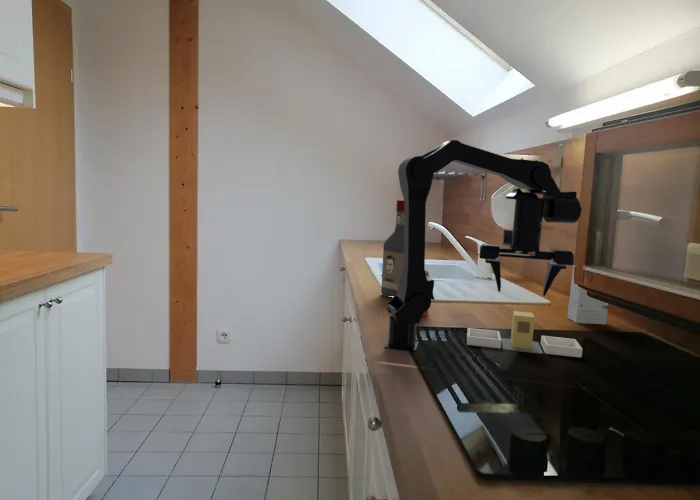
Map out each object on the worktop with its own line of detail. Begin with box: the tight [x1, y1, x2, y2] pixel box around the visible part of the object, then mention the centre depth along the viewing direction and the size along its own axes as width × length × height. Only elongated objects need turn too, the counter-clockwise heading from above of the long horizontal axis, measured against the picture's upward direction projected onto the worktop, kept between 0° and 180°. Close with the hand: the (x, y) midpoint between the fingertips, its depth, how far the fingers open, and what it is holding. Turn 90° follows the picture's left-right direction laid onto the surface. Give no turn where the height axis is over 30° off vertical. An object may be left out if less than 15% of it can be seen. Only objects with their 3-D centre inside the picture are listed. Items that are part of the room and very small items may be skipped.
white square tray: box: [540, 335, 583, 358], centre depth 103 cm, size 7×7×2 cm
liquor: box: [380, 199, 405, 298], centre depth 151 cm, size 9×9×30 cm
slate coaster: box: [501, 337, 544, 355], centre depth 105 cm, size 8×8×1 cm
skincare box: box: [567, 265, 609, 325], centre depth 130 cm, size 8×6×15 cm
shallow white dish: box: [466, 327, 502, 349], centre depth 107 cm, size 7×7×2 cm
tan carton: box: [510, 310, 535, 349], centre depth 105 cm, size 4×4×7 cm
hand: (521, 293), depth 105 cm, fingers open, 9 cm apart
